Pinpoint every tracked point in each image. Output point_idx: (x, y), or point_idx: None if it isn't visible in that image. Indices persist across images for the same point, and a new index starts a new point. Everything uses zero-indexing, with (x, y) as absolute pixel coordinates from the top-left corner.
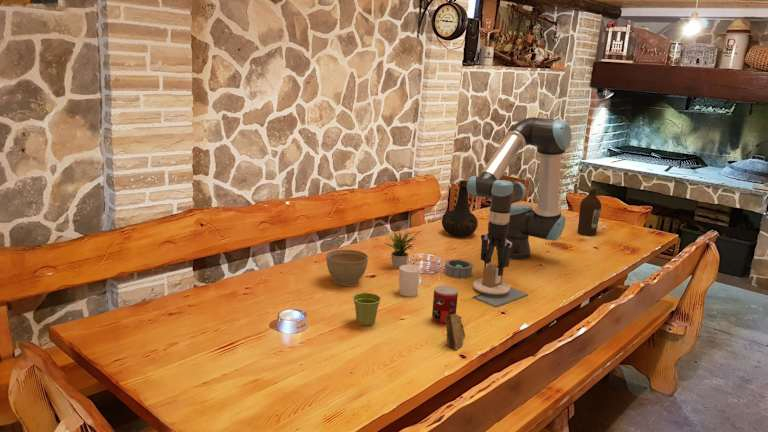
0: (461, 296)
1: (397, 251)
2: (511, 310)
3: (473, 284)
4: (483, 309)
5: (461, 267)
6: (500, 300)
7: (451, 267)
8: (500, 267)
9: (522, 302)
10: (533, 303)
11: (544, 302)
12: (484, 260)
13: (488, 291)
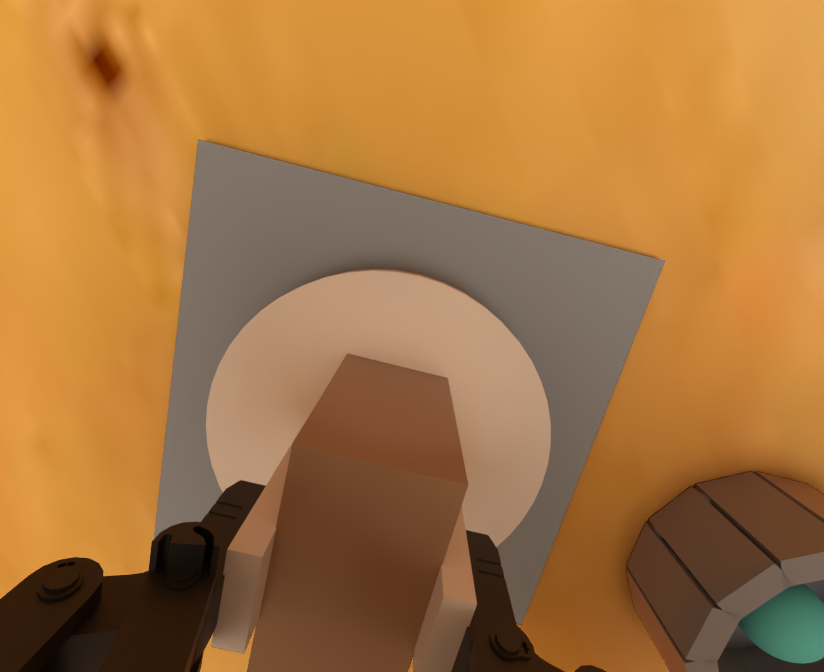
0: (549, 169)
1: None
2: (84, 174)
3: (525, 353)
4: (262, 11)
5: (775, 595)
6: (233, 284)
7: None
8: (162, 560)
9: (116, 391)
10: (53, 426)
11: (13, 492)
12: (532, 664)
13: (330, 277)
